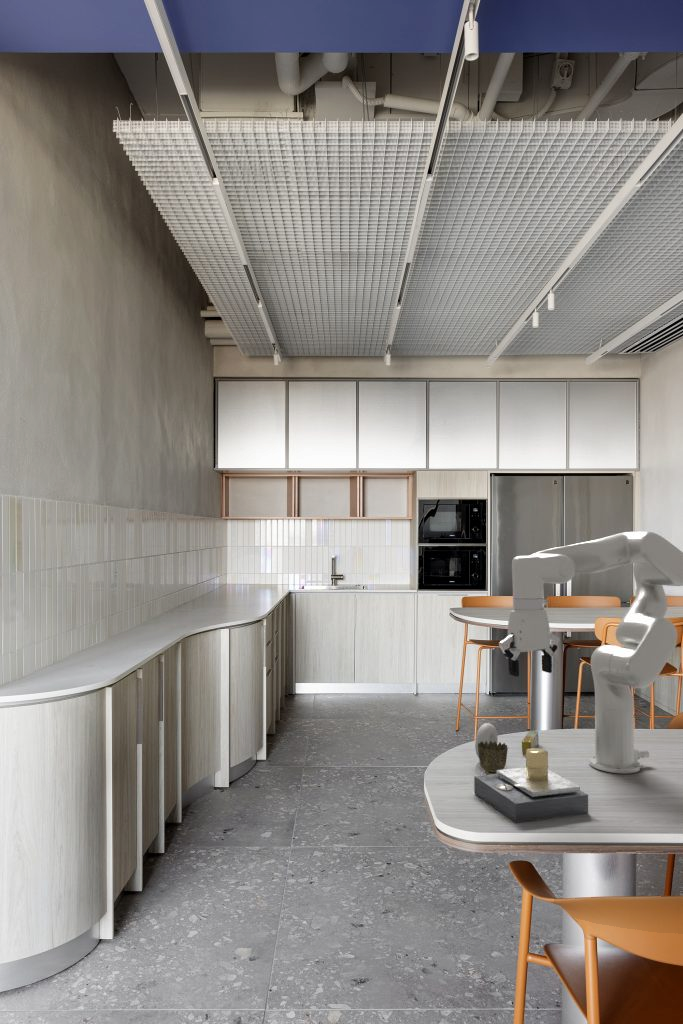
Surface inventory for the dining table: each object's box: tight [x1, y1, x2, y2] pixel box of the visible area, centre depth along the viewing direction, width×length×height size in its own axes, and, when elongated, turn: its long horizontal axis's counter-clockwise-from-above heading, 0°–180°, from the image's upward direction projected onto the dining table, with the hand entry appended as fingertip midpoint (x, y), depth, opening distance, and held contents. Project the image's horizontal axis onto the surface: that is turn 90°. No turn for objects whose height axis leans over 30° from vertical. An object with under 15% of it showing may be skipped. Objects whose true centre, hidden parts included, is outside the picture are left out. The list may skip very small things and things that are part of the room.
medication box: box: [521, 730, 540, 756], centre depth 201 cm, size 12×3×4 cm, turn 155°
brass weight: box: [525, 747, 549, 782], centre depth 160 cm, size 5×5×6 cm
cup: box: [478, 741, 509, 775], centre depth 177 cm, size 8×7×8 cm
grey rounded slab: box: [474, 722, 498, 759], centre depth 190 cm, size 10×4×10 cm, turn 146°
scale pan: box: [496, 766, 581, 797], centre depth 160 cm, size 12×15×1 cm
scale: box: [473, 774, 589, 824], centre depth 160 cm, size 18×18×4 cm
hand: (530, 673), depth 176 cm, fingers open, 9 cm apart
